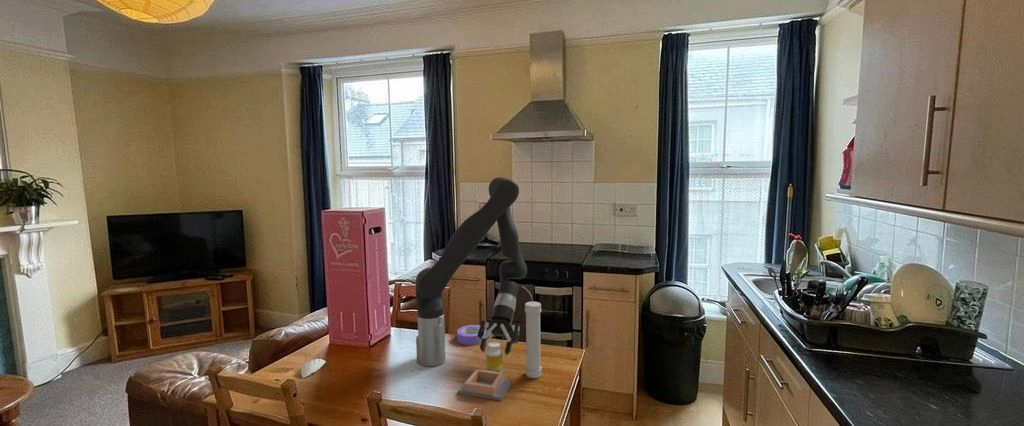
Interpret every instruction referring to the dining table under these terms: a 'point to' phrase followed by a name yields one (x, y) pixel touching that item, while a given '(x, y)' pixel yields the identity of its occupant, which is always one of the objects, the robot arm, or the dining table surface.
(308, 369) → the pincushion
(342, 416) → the dining table surface
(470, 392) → the holder
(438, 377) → the dining table surface
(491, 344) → the supplement bottle
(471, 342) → the masking tape
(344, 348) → the dining table surface
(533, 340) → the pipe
